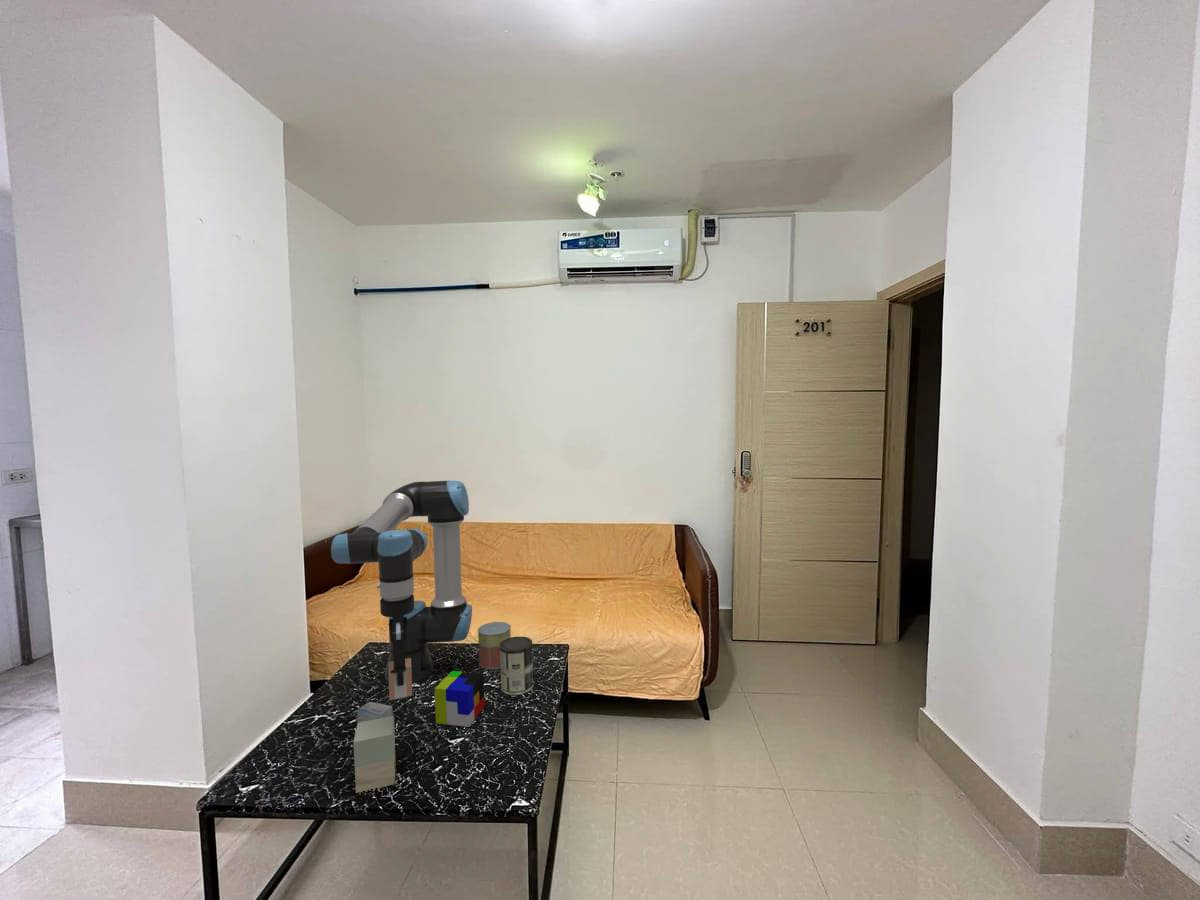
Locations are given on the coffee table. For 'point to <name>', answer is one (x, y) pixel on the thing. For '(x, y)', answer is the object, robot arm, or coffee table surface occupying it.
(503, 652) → the coffee can
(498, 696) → the coffee table surface
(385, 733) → the sage block
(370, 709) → the medicine box
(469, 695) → the puzzle toy
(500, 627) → the canned food
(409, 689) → the terracotta block
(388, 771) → the beech block
